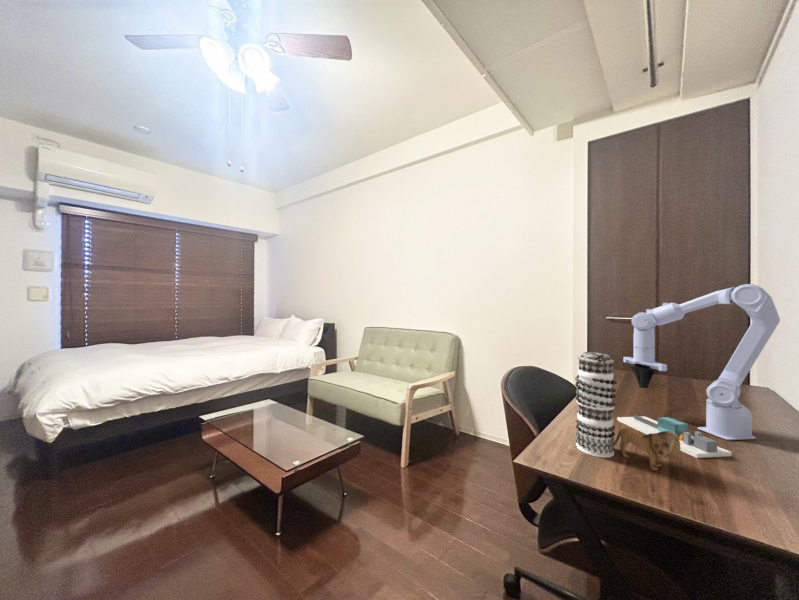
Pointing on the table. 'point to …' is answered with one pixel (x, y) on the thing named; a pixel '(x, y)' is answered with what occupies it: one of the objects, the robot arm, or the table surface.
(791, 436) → the table surface
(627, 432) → the lion figurine
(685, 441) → the cable board
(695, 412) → the table surface
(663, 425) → the sleeve
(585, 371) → the decorative candle
